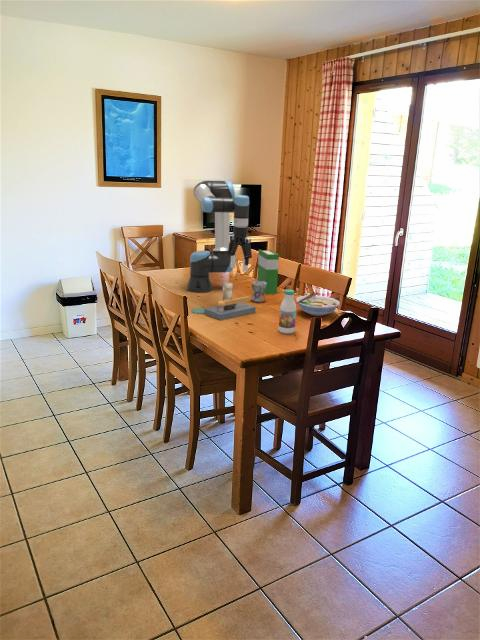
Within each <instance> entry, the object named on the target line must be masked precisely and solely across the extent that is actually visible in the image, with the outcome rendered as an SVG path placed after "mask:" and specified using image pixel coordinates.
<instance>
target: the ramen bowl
mask: <svg viewBox="0 0 480 640" xmlns="http://www.w3.org/2000/svg"><path fill="white" fill-rule="evenodd" d="M318 294H319V293H318V292H316V293H315V292H312V293H310V294H309V295H302V296H298V297H297V298H296V304H298V306H299V309H301V310H302V311H303V312H305V313H307V314H309V315H310V316H314V317H323V316H325V315H328V314H332V313H333V312H334V311H335V310H336V309H337V308H338V306H339V305H340V301H339V300H338V299H335V298H333V297H329V296H324V295H318Z"/></svg>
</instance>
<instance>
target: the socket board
mask: <svg viewBox="0 0 480 640" xmlns="http://www.w3.org/2000/svg"><path fill="white" fill-rule="evenodd" d="M256 311H257V310H256V306H254V305H251V304H248V303H245V302H241V303H236V306H234V307H232V309H228V310H225V309H224V307H218V305H217V306H212V307H211V306H210V307H205V309H204V314H203V315H205V314H206V315H205V316H208V317H210V316H211V318H213V317H214V318H213V319H215V318H216V320H218V319H219V320H218V321H225V320H228V318H229V319H233V318H237V317H242V316H245V315H246V316H247V315H250V314H254V313H256ZM224 319H225V320H224Z"/></svg>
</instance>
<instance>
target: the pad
mask: <svg viewBox="0 0 480 640" xmlns="http://www.w3.org/2000/svg"><path fill="white" fill-rule="evenodd" d="M205 308H206V307H205ZM205 308H204V307H196V308H192V309H191V311H190V312H191V313H192V312H193V314H195V313H197V315H205V314H204V309H205Z"/></svg>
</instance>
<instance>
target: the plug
mask: <svg viewBox="0 0 480 640" xmlns="http://www.w3.org/2000/svg"><path fill="white" fill-rule="evenodd" d="M233 284H234V283H233V282H231V281H224V282H222V299H221V301H225V300H231V299H233V290H234V289H233V286H234V285H233ZM234 306H236V304H231V305H226V306H224V309H225V310H228V309H232V307H234Z"/></svg>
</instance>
